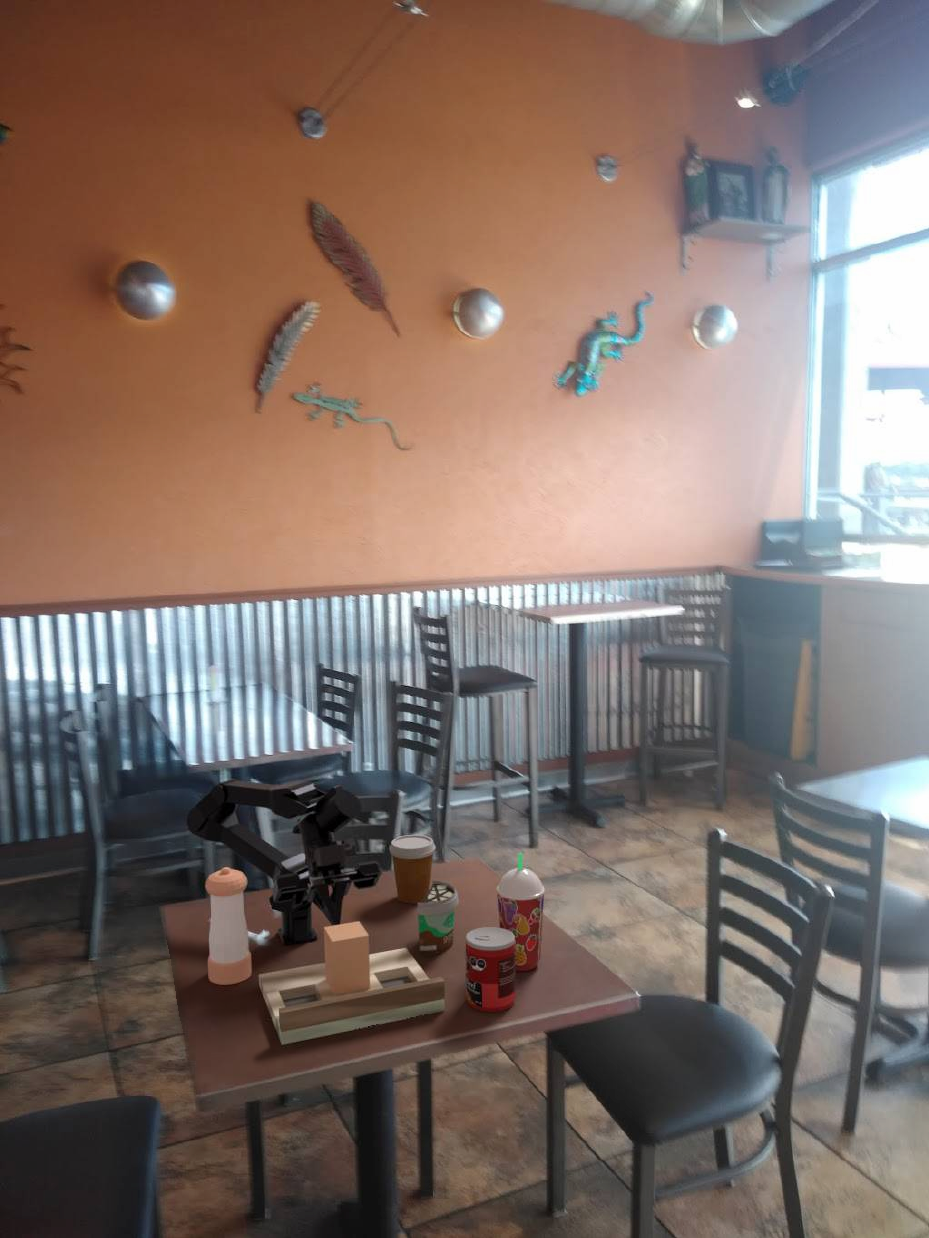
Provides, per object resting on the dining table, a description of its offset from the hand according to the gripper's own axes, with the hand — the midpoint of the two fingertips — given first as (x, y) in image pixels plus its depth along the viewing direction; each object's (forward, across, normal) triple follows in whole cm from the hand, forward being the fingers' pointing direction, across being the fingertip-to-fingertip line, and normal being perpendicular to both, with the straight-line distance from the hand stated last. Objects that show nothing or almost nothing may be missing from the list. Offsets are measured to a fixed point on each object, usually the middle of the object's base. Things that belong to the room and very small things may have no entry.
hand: (337, 927), depth 168 cm
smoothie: (+13, +30, -2) cm, 33 cm away
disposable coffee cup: (-12, +23, +24) cm, 36 cm away
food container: (+4, +21, +8) cm, 22 cm away
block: (+10, -1, -2) cm, 11 cm away
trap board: (+12, -1, -1) cm, 13 cm away
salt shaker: (+1, -17, +11) cm, 21 cm away
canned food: (+20, +20, -9) cm, 29 cm away
